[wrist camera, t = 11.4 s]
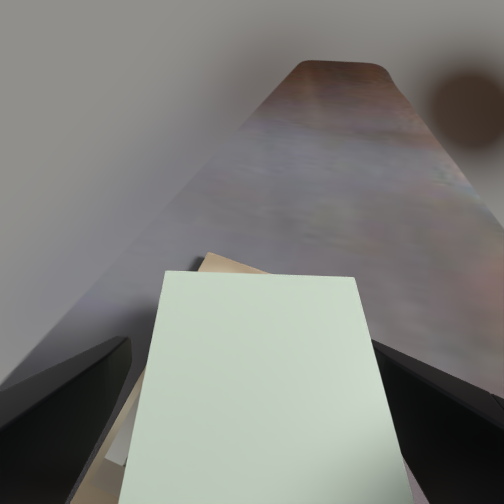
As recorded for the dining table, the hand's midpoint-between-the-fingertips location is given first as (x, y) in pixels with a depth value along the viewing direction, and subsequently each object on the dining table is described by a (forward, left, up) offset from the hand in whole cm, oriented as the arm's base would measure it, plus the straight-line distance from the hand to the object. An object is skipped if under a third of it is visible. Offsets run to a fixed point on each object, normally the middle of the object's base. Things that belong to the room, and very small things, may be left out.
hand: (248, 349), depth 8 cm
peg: (-1, 0, -8) cm, 8 cm away
